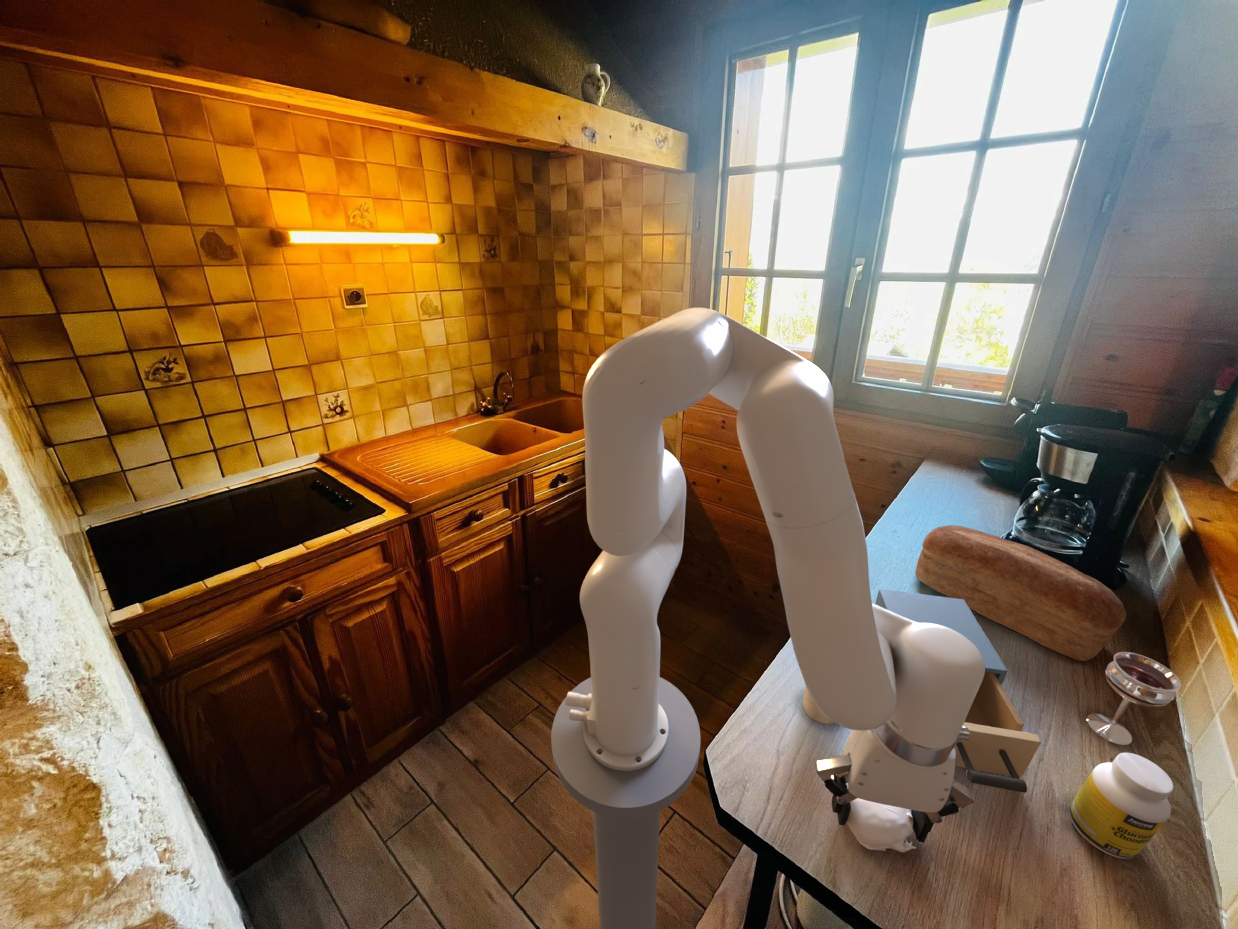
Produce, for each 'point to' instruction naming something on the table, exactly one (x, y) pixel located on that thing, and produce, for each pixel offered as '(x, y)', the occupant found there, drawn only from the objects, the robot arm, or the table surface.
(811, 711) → the candle
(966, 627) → the cabinet
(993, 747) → the drawer
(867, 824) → the garlic
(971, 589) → the bread
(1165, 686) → the wineglass
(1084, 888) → the table surface
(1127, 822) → the pill bottle
